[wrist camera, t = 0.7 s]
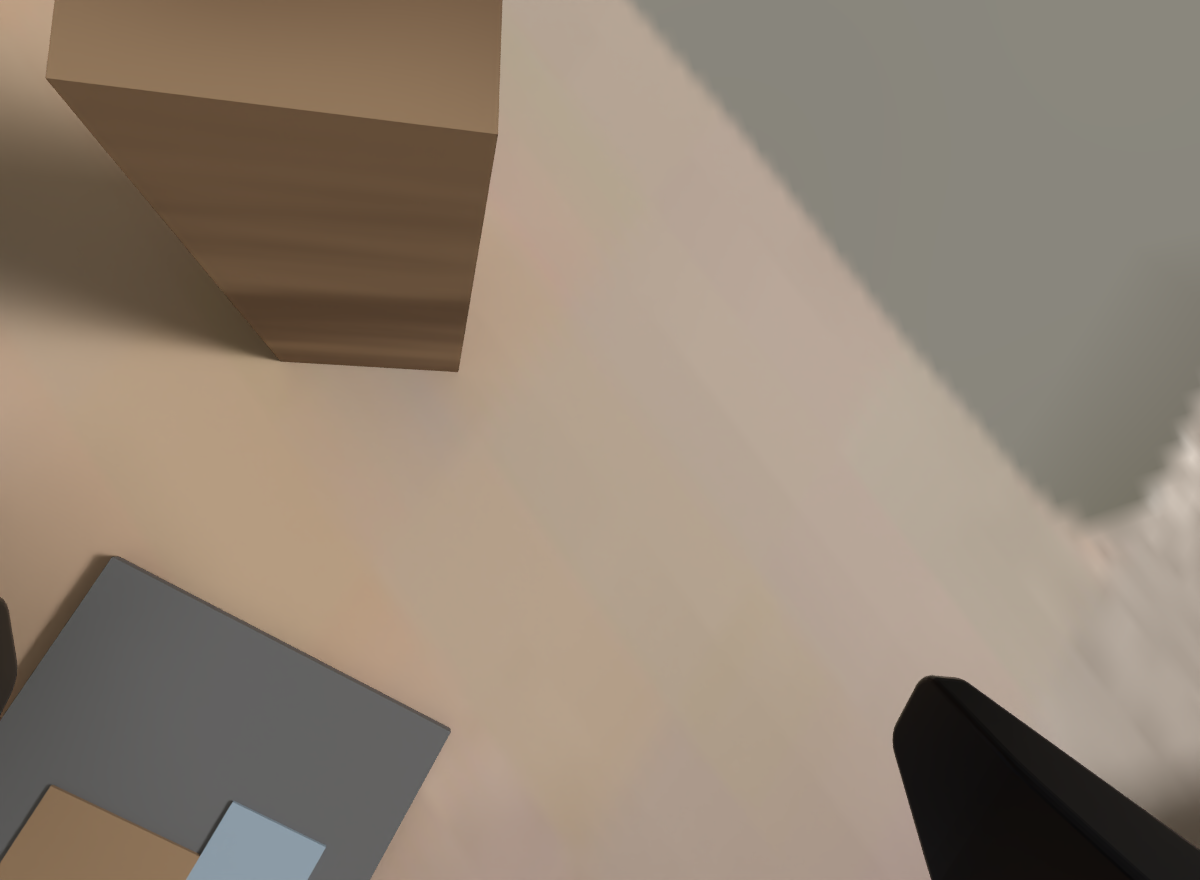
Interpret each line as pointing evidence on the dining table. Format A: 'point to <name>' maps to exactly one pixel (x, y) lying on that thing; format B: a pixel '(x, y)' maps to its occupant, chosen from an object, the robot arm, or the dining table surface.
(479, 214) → the walnut pillar
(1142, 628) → the dining table surface
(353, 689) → the card
